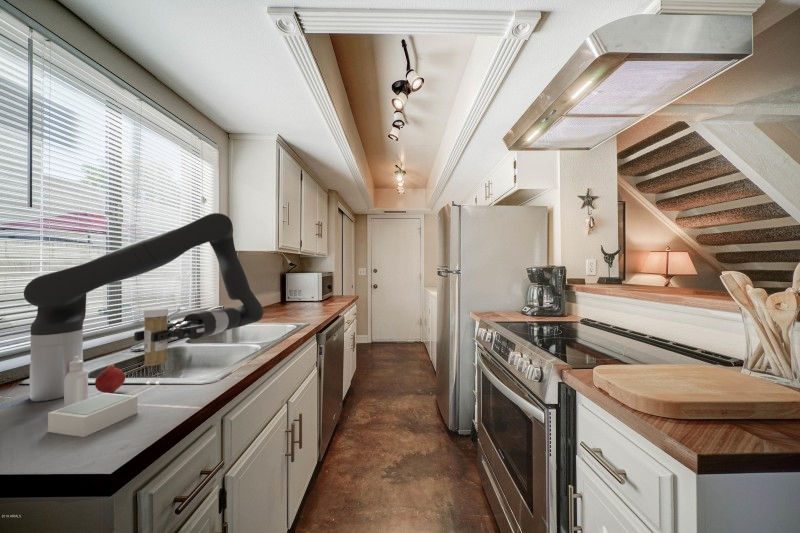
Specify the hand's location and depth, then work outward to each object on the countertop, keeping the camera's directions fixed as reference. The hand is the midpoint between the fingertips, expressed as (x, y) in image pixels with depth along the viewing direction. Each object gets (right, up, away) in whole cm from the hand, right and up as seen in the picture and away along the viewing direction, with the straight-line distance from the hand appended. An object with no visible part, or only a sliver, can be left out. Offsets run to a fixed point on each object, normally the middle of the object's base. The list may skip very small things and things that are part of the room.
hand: (144, 337), depth 67 cm
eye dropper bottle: (-23, -19, +6) cm, 30 cm away
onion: (-20, -19, +12) cm, 30 cm away
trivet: (-9, -18, -3) cm, 20 cm away
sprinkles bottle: (+1, -7, +3) cm, 8 cm away
